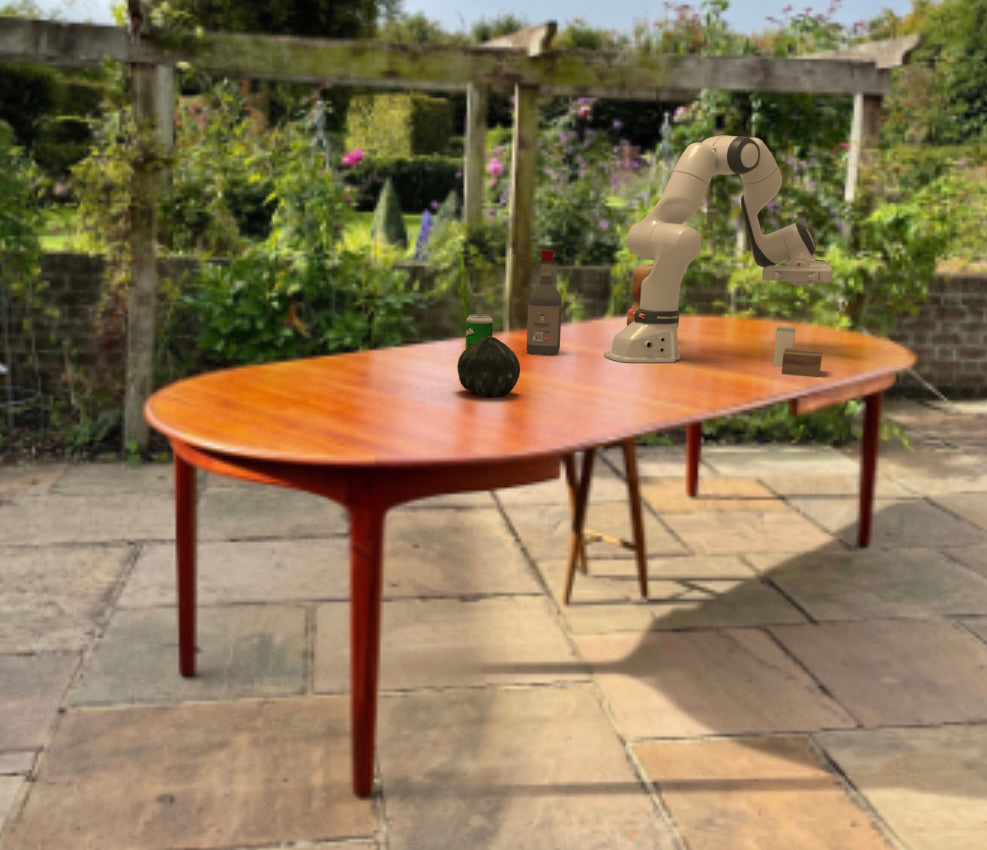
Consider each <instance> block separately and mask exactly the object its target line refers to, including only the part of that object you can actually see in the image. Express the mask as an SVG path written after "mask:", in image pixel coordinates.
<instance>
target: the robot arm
mask: <svg viewBox="0 0 987 850" xmlns="http://www.w3.org/2000/svg"><path fill="white" fill-rule="evenodd" d="M714 174H716V175H717V174H718V175H721V176H722V175H723V176H725V175H726V176H730V175H739V177H740V179H741V181H742V183H743V187H744V192H743V194H741V196H740V206H741V207H740V208H741V212H742V213H741V214H742V216H743V219H744V220H743V221H744V223H745V229H746V231H747V236H748V239H749V244H750V247H751V248H750V249H751V256H752V259H753V261H754V262H755V264H756V265H757V266H758V267H760V268H762V271H761V272H762V275H761V276H762V277H761V278H762V280H763V281H774V282H775V281H776V282H777V281H778V282H779V281H780V282H788V283H789V284H790V285H793V286H796V287H801V286H802V287H803V286H805V285H806V286H807V285H812V284H826V283H832V280H833V279H832V278H833V268H832V265H830V264H831V263H830V261H828V260H823V259H822V260H821V259H818V258H817V256H816V255H815V253H816V249H817V245H816V242H815V238H814V236H813V233H812V232H811V231H810V229H809V228H808V227H807V226H806V225H804V224H802V223H800V222H795V223H792V224H789V225H786V226H784V227H782V228H780V229H777V230H775V231H773V232H771V233H767V234H763V233H762V229H761V226H760V221H759V217H758V216H759V213H760V212H761V210H763V208H765V206H766V205H767V204H769V203H770V202H771V201H772V200H774V198H775V197H776V196H777V194H778V193H779V191H780V190H781V187H782V183H783V176H782V173H781V171H780V168H779V165H778V163H777V161H776V159H775V158H774V155H773V154H772V153H771V151H770V150H769V148H768V147H767V145H766V144H765V143H764V141H763V140H762V139H760V138H758V137H747V136H744V135H743V136H742V135H739V136H736V135H735V136H734V135H727V134H725V135H716V136H706V137H703V138H701V139H699V140H698V141H697V142H694V143H691V144H689V145H688V146H687V147H685V149H684V151H683V153H682V154H681V155H680V157H679V159H678V161H677V162H676V165H675V167H674V168H673V170H672V173H671V175H670V178H669V179H668V183H667V184H666V186H665V188H664V191H663V193H662V195H661V197H660V198H659V199H658V201H657V202H656V203H655V205H654V207H653V208H652V209H651V210H650V212H649V213H648V214H647V215H646V216H645V217H644V218H643V219H642V220H640V221H639V222H638V223H636V224H634V225H633V226H632V227H631V228H630V229H629V231H628V234H627V238H626V242H627V247H628V249H629V251H630V252H631V253H632V254H633V255H635V256H637V257H639V258H642V259H644V260H650V261H654V266H653V269H652V271H651V273H650V274H649V276H647V277H646V278H645V279H644V280H643V281H642V284H641V299H640V308H639V309H638V310H637V311H635V310H632V309H631V308H630V309H628V310H627V313H626V314H627V317H628V316H631V317H634V316H635V317H634V321H633V322H632V323H631V324H629V325H628V326H627V325H626V327H625V328H623V329H622V330H620V331H619V332H618V333H616V334H615V335H614V337H613V340H612V345H611V350H608V351H604V352H603V357H605V358H607V359H610V360H612V361H616V362H621V363H622V362H623V363H675V362H676V361H677V360H681V355H680V350H679V341H678V327H679V322H680V309H679V302H680V293H681V285H682V280H683V278H684V275H685V272H686V271H687V269H688V267H689V265H690V264H691V263H692V262H693V261H694V260H695V259H696V258H697V257H698V256H699V255H700V253H701V249H702V238H701V235H700V233H699V231H697V230H696V229H695V228H693V227H690V226H688V225H685V224H684V223H685V222H686V221H687V220H688V219H690V218H692V217H693V216H694V215H696V213H698V211H699V209H700V207H701V204H702V202H703V200H704V197H705V195H706V193H707V191H708V188H709V186H710V183H711V180H712V177H713V176H714ZM785 261H788V262H787V263H786V265H778V264H780V263H782V262H785Z"/></svg>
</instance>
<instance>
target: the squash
mask: <svg viewBox="0 0 987 850" xmlns="http://www.w3.org/2000/svg"><path fill="white" fill-rule="evenodd" d="M457 373H458V378H459V379H458V380H459V382H460V384H461V385H462V387H463V388H464V389H465V390H466V391H471V392H472V393H477V394H478V395H479V396H481V397H486V396H489V397H491V398H495V397H498V396H506V395H509V394H510V393H511V392H512V391H513V390H514V388H515V387H516V385H517V383H518V381H519V378H520V374H521V364H520V361H519V358H518V356H517V354H515V352H514V351H513V350H512V349H511V348H510V347H509V346H508V345H507V344H506V343H504V342H503V341H501V340H500V339H498V338H496V337H494V336H492V337H485V338H483V339H481V340H479V341H478V342H476V343H474V344H473V345H471V346H470V347H468V348H467V349H466V348H465V349H464V350H463V352H462V353H461V354H460V355H459V358H458V362H457Z"/></svg>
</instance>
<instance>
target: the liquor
mask: <svg viewBox="0 0 987 850" xmlns="http://www.w3.org/2000/svg"><path fill="white" fill-rule="evenodd" d="M554 254H555V251H554V250H553V249H541V251H540V261H541V266H540V267H541V268H540V280H539V284H537V286H536V287H535V288H534V289H533V291H532V292H531V293H530V295H529V297H528V302H527V303H528V304H527V324H526V326H527V327H526V330H527V331H526V348H525V349H526V352H527V354H529V353H531V355H533V354H543V355H542V356H548V355H550V356H555V355H554V354H556V355H558V353H559V352H560V349H561V333H562V332H561V330H562V328H561V327H562V312H563V311H562V310H563V309H562V308H563V297H562V294H561V293H560V291H559V290H558V289H557V287H556V286H555V285H554V284H553V262H554Z"/></svg>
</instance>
